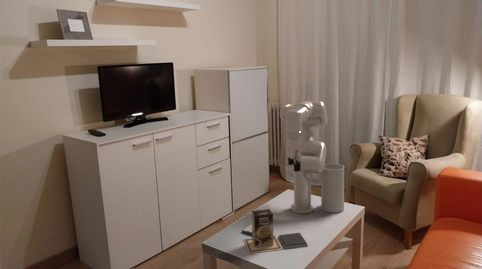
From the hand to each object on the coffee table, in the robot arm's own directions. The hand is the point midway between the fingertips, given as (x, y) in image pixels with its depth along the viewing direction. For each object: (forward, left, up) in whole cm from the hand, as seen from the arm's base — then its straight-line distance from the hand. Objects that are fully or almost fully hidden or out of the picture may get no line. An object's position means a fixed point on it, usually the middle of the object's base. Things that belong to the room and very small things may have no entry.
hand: (294, 167), depth 186 cm
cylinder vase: (-15, +27, -32) cm, 45 cm away
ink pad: (+15, -6, -32) cm, 36 cm away
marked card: (+14, -21, -32) cm, 40 cm away
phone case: (-2, -20, -32) cm, 38 cm away
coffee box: (+14, -20, -32) cm, 40 cm away
